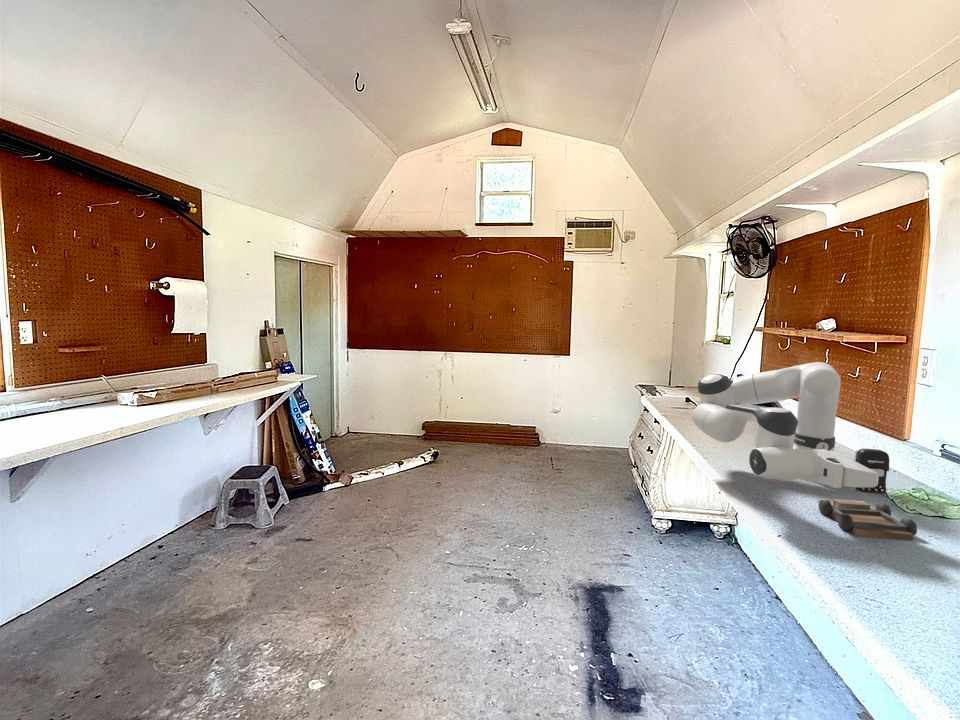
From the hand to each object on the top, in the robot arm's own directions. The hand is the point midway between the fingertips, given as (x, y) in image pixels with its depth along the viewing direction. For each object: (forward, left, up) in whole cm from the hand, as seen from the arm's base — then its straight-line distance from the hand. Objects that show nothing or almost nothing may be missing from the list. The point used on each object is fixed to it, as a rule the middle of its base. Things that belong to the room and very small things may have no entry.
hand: (875, 469), depth 131 cm
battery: (+1, -1, -6) cm, 7 cm away
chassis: (-1, -1, -16) cm, 16 cm away
